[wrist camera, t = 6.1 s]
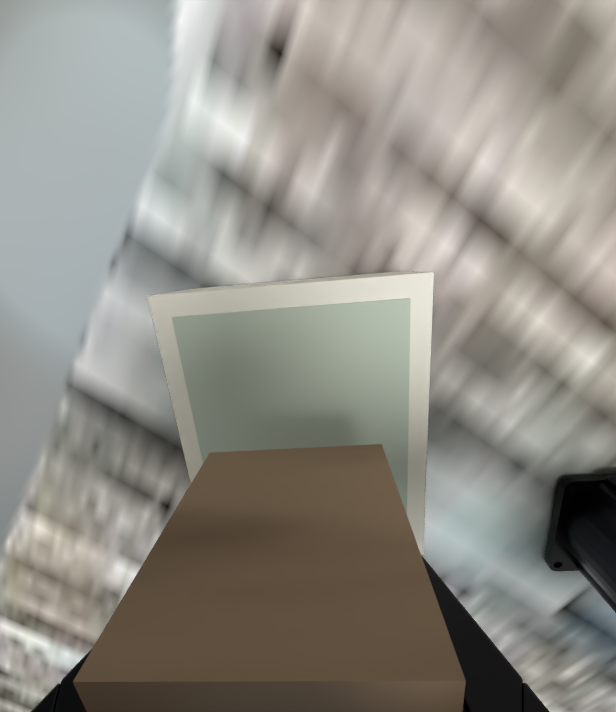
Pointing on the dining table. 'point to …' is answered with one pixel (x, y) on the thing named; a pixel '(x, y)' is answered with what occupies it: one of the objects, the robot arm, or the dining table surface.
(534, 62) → the dining table surface
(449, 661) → the walnut cube
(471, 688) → the robot arm
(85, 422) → the dining table surface
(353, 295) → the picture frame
